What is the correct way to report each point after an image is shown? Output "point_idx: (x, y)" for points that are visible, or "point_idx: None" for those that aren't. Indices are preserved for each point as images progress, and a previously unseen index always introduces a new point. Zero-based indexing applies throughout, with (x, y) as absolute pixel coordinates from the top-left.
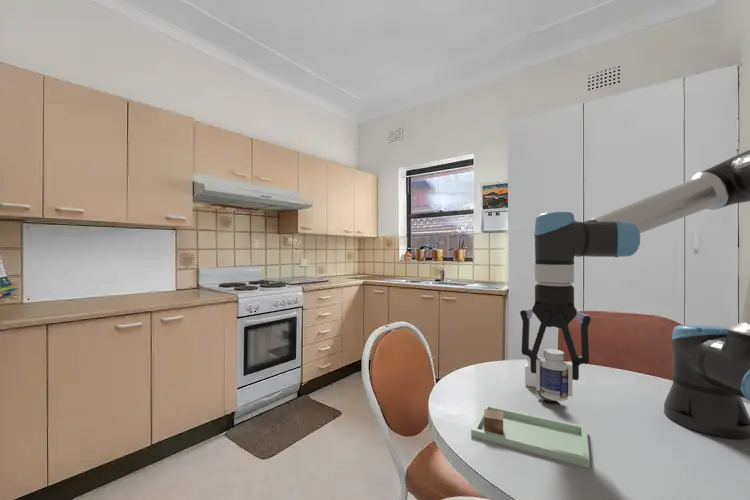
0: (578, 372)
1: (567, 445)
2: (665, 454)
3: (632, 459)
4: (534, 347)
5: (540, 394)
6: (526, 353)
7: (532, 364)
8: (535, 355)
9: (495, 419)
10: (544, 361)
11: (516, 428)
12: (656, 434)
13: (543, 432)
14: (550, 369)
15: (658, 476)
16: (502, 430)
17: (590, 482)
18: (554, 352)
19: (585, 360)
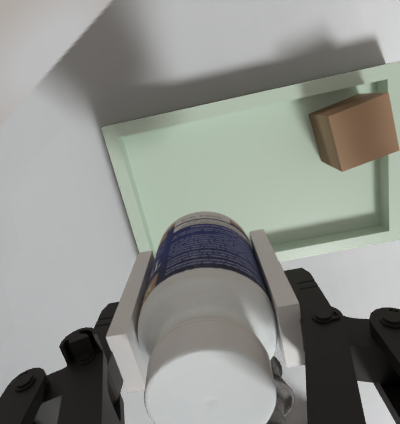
0: (94, 328)
1: (169, 191)
2: (17, 297)
3: (56, 236)
4: (343, 367)
5: (280, 377)
6: (375, 317)
7: (311, 294)
8: (313, 324)
9: (351, 106)
10: (251, 313)
11: (292, 190)
12: (48, 364)
13: (231, 215)
14: (207, 266)
15: (5, 204)
16: (318, 113)
17: (95, 79)
18: (199, 380)
19: (23, 382)
